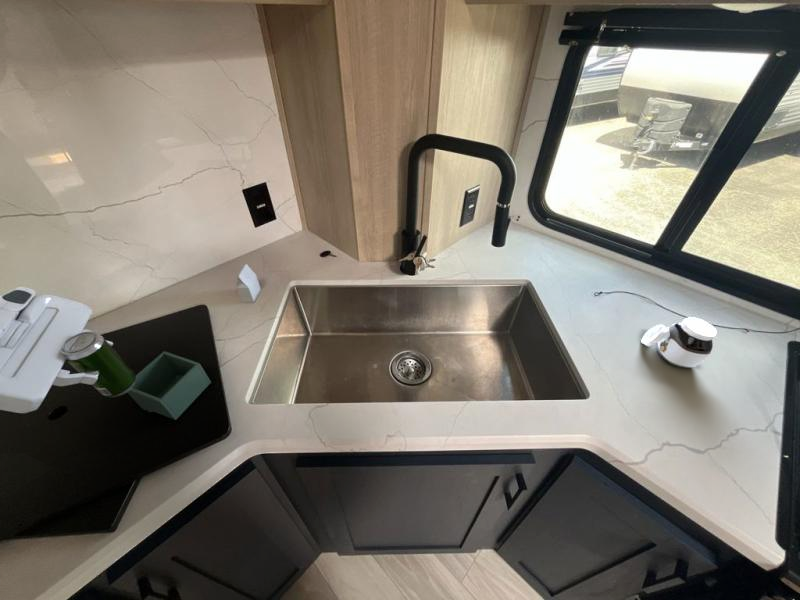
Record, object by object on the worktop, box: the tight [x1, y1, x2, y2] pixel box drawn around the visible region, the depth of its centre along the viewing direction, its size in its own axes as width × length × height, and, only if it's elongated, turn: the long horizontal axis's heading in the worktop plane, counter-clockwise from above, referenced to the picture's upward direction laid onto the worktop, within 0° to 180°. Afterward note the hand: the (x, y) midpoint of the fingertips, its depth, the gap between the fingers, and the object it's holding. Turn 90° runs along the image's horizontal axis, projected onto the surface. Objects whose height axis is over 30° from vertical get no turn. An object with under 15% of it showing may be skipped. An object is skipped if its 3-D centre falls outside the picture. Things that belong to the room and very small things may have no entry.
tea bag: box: [235, 263, 262, 304], centre depth 99 cm, size 4×7×10 cm, turn 1°
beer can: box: [60, 330, 136, 398], centre depth 55 cm, size 5×5×12 cm
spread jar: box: [641, 316, 718, 369], centre depth 84 cm, size 12×11×12 cm
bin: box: [126, 350, 212, 421], centre depth 72 cm, size 10×10×9 cm
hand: (104, 362), depth 55 cm, fingers closed on beer can, 5 cm apart
